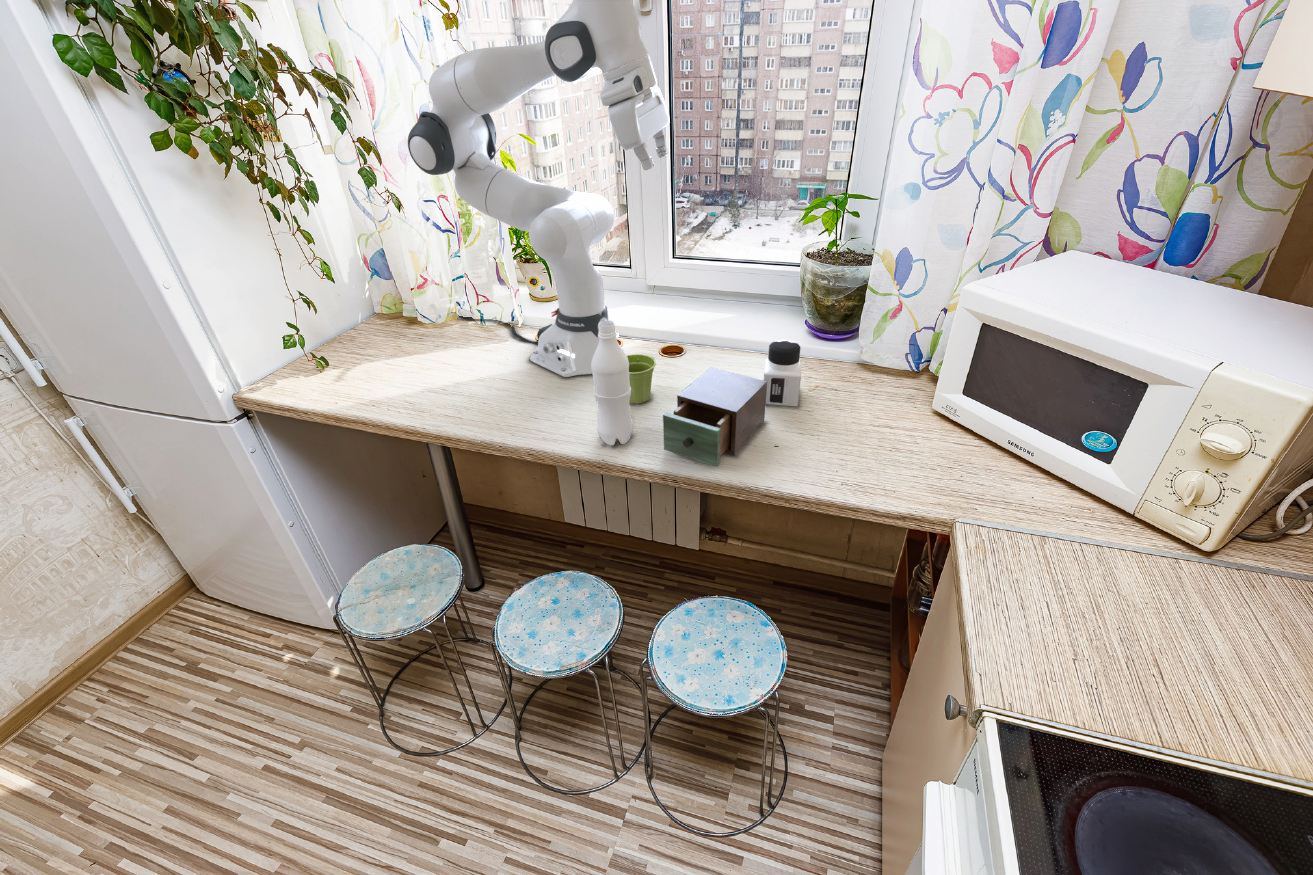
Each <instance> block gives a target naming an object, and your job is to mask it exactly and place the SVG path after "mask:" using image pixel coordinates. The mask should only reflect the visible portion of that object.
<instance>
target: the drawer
mask: <svg viewBox="0 0 1313 875" xmlns="http://www.w3.org/2000/svg"><path fill="white" fill-rule="evenodd" d="M662 421H663V422H662V426H663V428H662V429H663V450H665V451H668V452H671V453H672V454H673V453H674V454H676V455H680V456H682V457H685V458H688V459H691V460H694V461H698V462H700V463H703V464H706V465H710V466H713V467H714V468H715V467H716V468H717V467H718V466H720V462H721V461H720V460H721V457H722V455H724V454H725V451H726V450H727V449H728V448H729V447H730V446H731V432H732V415H730V414H727V413H723V412H720V411H716V410H713V409H709V408H706V407H702V406H699V405H695V404H692V403H688V402H684V403H682V404H681V405H680V406H679V407H678V408H676V409H674V410H673V413H671V412H668V411H665V412H664V414H662Z"/></svg>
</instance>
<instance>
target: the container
mask: <svg viewBox="0 0 1313 875" xmlns="http://www.w3.org/2000/svg"><path fill="white" fill-rule="evenodd" d="M767 356H768V357H766V358H765V362H764V371H763V380H764V381H767V392H766V405H769V406H770V405H772V406H784V407H785V406H786V407H798V405H799V398H800V390H801V389H800V388H801V381H802V360H801V359H800V356H801V345H800V344H799V343H798V342H796V341H794V340H791V339H777V340H773V341H772V342H771V343H769V345H768V354H767Z"/></svg>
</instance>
